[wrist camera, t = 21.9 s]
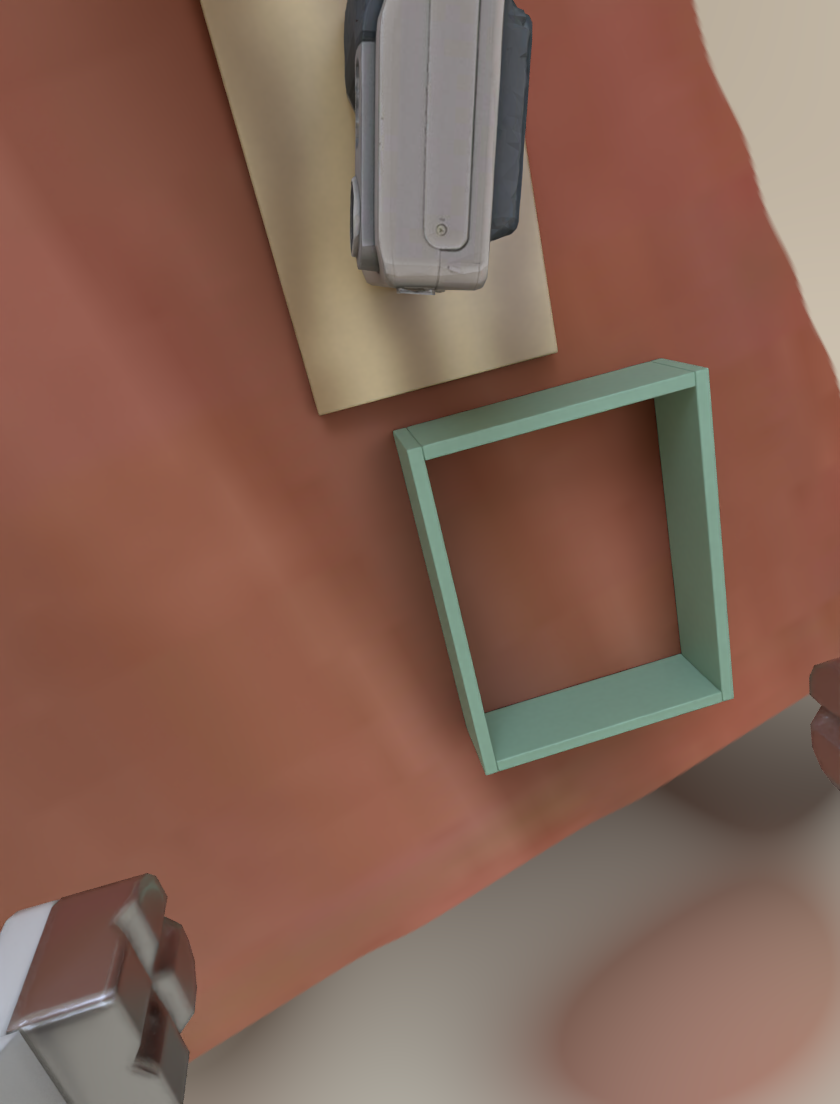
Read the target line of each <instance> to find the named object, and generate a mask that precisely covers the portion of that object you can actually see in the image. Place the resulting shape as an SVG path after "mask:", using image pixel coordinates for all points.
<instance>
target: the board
mask: <svg viewBox="0 0 840 1104" xmlns="http://www.w3.org/2000/svg"><path fill="white" fill-rule="evenodd" d="M200 4H201V7H202V10H203V14H204V17H205V21H206V24H207V28H208V31H209V35H210V38H211V42H212V45H213V49H214V52H215V56H216V59H217V63H218V66H219V70H220V73H221V77H222V80H223V84H224V87H225V91H226V94H227V98H228V101H229V105H230V108H231V111H232V115H233V118H234V122H235V125H236V129H237V132H238V136H239V139H240V143H241V146H242V150H243V153H244V157H245V160H246V164H247V167H248V171H249V174H250V178H251V181H252V185H253V188H254V192H255V195H256V199H257V202H258V206H259V209H260V212H261V216H262V219H263V223H264V226H265V230H266V233H267V237H268V240H269V244H270V247H271V251H272V254H273V258H274V261H275V265H276V268H277V272H278V275H279V279H280V282H281V286H282V289H283V293H284V296H285V300H286V303H287V307H288V310H289V313H290V317H291V320H292V324H293V327H294V331H295V334H296V338H297V341H298V345H299V348H300V352H301V355H302V359H303V362H304V366H305V369H306V373H307V376H308V380H309V383H310V387H311V390H312V394H313V397H314V401H315V404H316V408H317V411H318V414H319V415H320V416H321V415H325V414H329V413H332V412H336V411H340V410H344V409H347V408H351V407H355V406H359V405H362V404H366V403H370V402H374V401H377V400H381V399H385V398H389V397H392V396H396V395H400V394H404V393H407V392H411V391H415V390H418V389H422V388H426V387H430V386H433V385H437V384H441V383H445V382H448V381H452V380H456V379H460V378H463V377H467V376H471V375H475V374H478V373H482V372H486V371H490V370H493V369H497V368H501V367H505V366H508V365H512V364H516V363H520V362H523V361H527V360H531V359H534V358H538V357H542V356H546V355H549V354H553V353H556V352H558V349H557V342H556V336H555V329H554V323H553V316H552V310H551V303H550V297H549V291H548V284H547V278H546V271H545V265H544V258H543V252H542V245H541V239H540V232H539V226H538V219H537V213H536V206H535V200H534V193H533V187H532V180H531V174H530V167H529V161H528V154H527V148H526V141H525V142H524V157H523V175H522V188H521V200H520V211H519V223H518V226H517V229H516V230H515V231H514V232H513V233H512V234H510V235H508V236H505V237H502V238H499V239H497V240H494V241H491V242H490V250H489V263H488V276H487V280H486V282H485V284H484V286H483V287H482V288H481V289H478V290H475V291H472V290H445V292H441V293H437V292H435V295H423V294H405V293H400V294H397V291H396V288H389V287H380V286H373V285H370V284H368V283H367V282H366V280H365V277H364V275H363V272H362V270H358V267H357V260H356V257H352V256H351V248H350V194H351V180H352V178H353V177H354V176H355V113H354V111H353V109H352V107H351V105H350V102H349V100H348V98H347V95H346V86H345V56H344V21H345V10H346V4H347V0H200ZM403 289H405V288H403Z"/></svg>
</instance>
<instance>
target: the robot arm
mask: <svg viewBox="0 0 840 1104" xmlns="http://www.w3.org/2000/svg"><path fill="white" fill-rule="evenodd" d="M809 686H810V695H811V696H812V697H813V698H814V699H815V700H816V701H817V702H818V703H819V704H820V705H822V706H821V707H820V709H819V711H818V712H817V714H816V716H815V717H814V719H813V721H812V723H811V724H810V725H811V737H812V747H813V750H814V752H815V755H816V757H817V759H818V762H819V764H820V766H821V769H822V770H823V771H824V773H825V774H826V775H827V777H828V778H829V780H830V781H831V782H832V784H833V785H834V786H835V787H837V789H838V790H839V791H840V657H839V658H836V659H833V660H830V661H827V662H823V663H820V664H817V665H814V667H813V670H812V672H811V674H810V677H809ZM166 903H167V895H166V893H165V891H164V889H163V888H162V886H161V884H160V882H159V880H158V879H157V877H156V876H155V875H151V874H148V873H146V874H143V875H139V876H136V877H132V878H129V879H125V880H122V881H118V882H115V883H111V884H108V885H104V886H101V887H97V888H94V889H90V890H87V891H83V892H80V893H76V894H73V895H69V896H66V897H62V898H61V899H60V900H55V901H51V902H48V903H44V904H41V905H37V906H34V907H31V908H27V909H24V910H20V911H17V912H16V913H15V914H14V915H12V916H11V917H10V918H9V919H8V920H7V921H6V922H5V924H4V926H3V928H2V931H1V933H0V1104H183V1100H184V1092H185V1085H186V1076H187V1068H188V1061H189V1051H188V1049H187V1047H186V1045H185V1043H184V1041H183V1039H182V1037H181V1035H180V1033H181V1032H182V1030H183V1029H184V1027H185V1026H186V1024H187V1023H188V1021H189V1020H190V1018H191V1017H192V1015H193V1014H194V1011H195V1001H196V991H197V985H196V973H195V961H194V957H193V953H192V950H191V946H190V943H189V940H188V937H187V935H186V933H185V931H184V929H183V927H182V925H181V924H179V923H177V922H175V921H173V920H171V919H169V918H167V917H165V916H164V914H165V908H166Z"/></svg>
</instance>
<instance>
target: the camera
mask: <svg viewBox="0 0 840 1104" xmlns="http://www.w3.org/2000/svg"><path fill="white" fill-rule="evenodd" d="M531 47H532V21H531V19H530V17H529V16H528V15H527V14H525V13H524V10H522V9H519V8H517V6H516V5H515V3H514V1H513V0H347V4H346V10H345V21H344V56H345V86H346V95H347V98H348V100H349V102H350V105H351V107H352V109H353V111H354V113H355V176H354V177H353V178H352V180H351V194H350V248H351V256H352V257H356V260H357V267H358V270H362V272H363V275H364V277H365V280H366V282H367V283H368V284H370V285H373V286H380V287H389V288H396V291H397V294H400V293H405V294H423V295H435V292H437V293H441V292H445V290H472V291H475V290H478V289H481V288H482V287H483V286H484V284H485V282H486V280H487V276H488V263H489V250H490V242H491V241H494V240H497V239H499V238H502V237H505V236H508V235H510V234H512V233H513V232H514V231H515V230H516V229H517V226H518V223H519V211H520V200H521V188H522V175H523V157H524V142H525V129H526V116H527V103H528V88H529V73H530V59H531ZM403 288H405V289H403Z"/></svg>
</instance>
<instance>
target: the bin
mask: <svg viewBox="0 0 840 1104" xmlns="http://www.w3.org/2000/svg"><path fill="white" fill-rule="evenodd" d="M651 398H654V402H655V411H656V420H657V430H658V439H659V449H660V458H661V467H662V477H663V486H664V495H665V505H666V514H667V523H668V533H669V542H670V551H671V561H672V570H673V579H674V589H675V598H676V608H677V617H678V626H679V636H680V645H681V654H678V655H675V656H671V657H668V658H665V659H661V660H658V661H655V662H652V663H648V664H645V665H642V666H638V667H635V668H632V669H629V670H625V671H622V672H619V673H615V674H612V675H609V676H606V677H602V678H599V679H596V680H592V681H589V682H586V683H583V684H579V685H576V686H573V687H569V688H566V689H563V690H560V691H556V692H553V693H550V694H547V695H543V696H540V697H537V698H533V699H530V700H527V701H524V702H520V703H517V704H514V705H510V706H507V707H504V708H501V709H497V710H494V711H491V712H487V713H484V709H483V705H482V701H481V697H480V692H479V688H478V684H477V680H476V675H475V671H474V667H473V663H472V658H471V654H470V650H469V646H468V642H467V637H466V633H465V629H464V625H463V620H462V616H461V612H460V608H459V603H458V599H457V595H456V591H455V587H454V582H453V578H452V574H451V570H450V565H449V561H448V557H447V553H446V548H445V544H444V540H443V536H442V531H441V527H440V523H439V519H438V515H437V510H436V506H435V502H434V498H433V493H432V489H431V485H430V481H429V476H428V472H427V468H426V464H425V460H429V459H433V458H437V457H440V456H444V455H448V454H451V453H455V452H459V451H462V450H466V449H469V448H473V447H477V446H480V445H484V444H488V443H491V442H495V441H499V440H502V439H506V438H509V437H513V436H517V435H520V434H524V433H528V432H531V431H535V430H539V429H542V428H546V427H549V426H553V425H557V424H560V423H564V422H568V421H571V420H575V419H578V418H582V417H586V416H589V415H593V414H597V413H600V412H604V411H608V410H611V409H615V408H618V407H622V406H626V405H629V404H633V403H637V402H640V401H644V400H648V399H651ZM393 435H394V439H395V443H396V447H397V451H398V455H399V459H400V463H401V467H402V471H403V475H404V479H405V483H406V487H407V491H408V495H409V499H410V503H411V507H412V511H413V515H414V519H415V523H416V527H417V531H418V535H419V539H420V543H421V547H422V551H423V555H424V559H425V563H426V567H427V571H428V575H429V579H430V583H431V587H432V591H433V595H434V599H435V603H436V607H437V611H438V615H439V619H440V623H441V627H442V631H443V635H444V639H445V643H446V647H447V651H448V655H449V659H450V663H451V667H452V671H453V675H454V679H455V683H456V687H457V691H458V695H459V699H460V703H461V707H462V711H463V715H464V719H465V723H466V727H467V730H468V732H469V735H470V737H471V740H472V742H473V745H474V747H475V750H476V752H477V754H478V757H479V759H480V762H481V764H482V767H483V769H484V772H485V774H486V775H489V774H492V773H496V772H498V771H502V770H505V769H508V768H511V767H515V766H518V765H521V764H524V763H527V762H531V761H534V760H537V759H540V758H543V757H547V756H550V755H553V754H556V753H559V752H563V751H566V750H569V749H572V748H576V747H579V746H582V745H585V744H588V743H592V742H595V741H598V740H601V739H604V738H608V737H611V736H614V735H617V734H620V733H624V732H627V731H630V730H633V729H636V728H640V727H643V726H646V725H649V724H653V723H656V722H659V721H662V720H665V719H669V718H672V717H675V716H678V715H681V714H685V713H688V712H691V711H694V710H697V709H701V708H704V707H707V706H710V705H714V704H717V703H720V702H722V701H726V700H730V699H733V698H734V694H733V681H732V668H731V655H730V642H729V629H728V616H727V603H726V590H725V577H724V564H723V551H722V538H721V525H720V512H719V499H718V486H717V473H716V460H715V447H714V434H713V421H712V408H711V395H710V382H709V369H708V368H705V367H700V366H696V365H691V364H686V363H682V362H677V361H672V360H668V359H663V358H660V359H657V360H653V361H651V362H645V363H642V364H638V365H634V366H631V367H627V368H623V369H620V370H616V371H612V372H609V373H605V374H601V375H598V376H594V377H590V378H586V379H583V380H579V381H575V382H572V383H568V384H564V385H561V386H557V387H553V388H550V389H546V390H542V391H538V392H535V393H531V394H527V395H524V396H520V397H516V398H513V399H509V400H505V401H502V402H498V403H494V404H491V405H487V406H483V407H479V408H476V409H472V410H468V411H465V412H461V413H457V414H454V415H450V416H446V417H443V418H439V419H435V420H431V421H428V422H424V423H420V424H417V425H413V426H409V427H407V429H406V428H402V429H398V430H394V431H393Z"/></svg>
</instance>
